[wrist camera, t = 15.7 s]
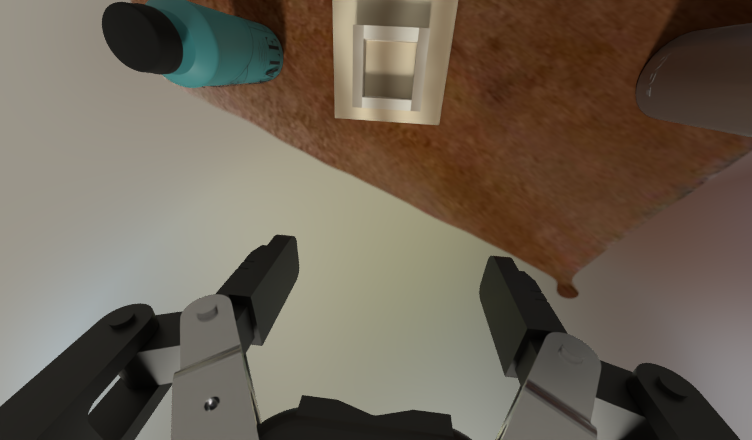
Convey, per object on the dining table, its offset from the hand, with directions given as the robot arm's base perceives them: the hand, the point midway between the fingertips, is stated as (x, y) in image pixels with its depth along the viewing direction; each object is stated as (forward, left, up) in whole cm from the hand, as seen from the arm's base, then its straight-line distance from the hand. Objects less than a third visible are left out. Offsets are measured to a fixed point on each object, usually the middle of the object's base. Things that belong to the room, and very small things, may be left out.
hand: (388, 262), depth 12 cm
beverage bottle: (+18, -8, -30) cm, 36 cm away
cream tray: (+2, -14, -30) cm, 33 cm away
